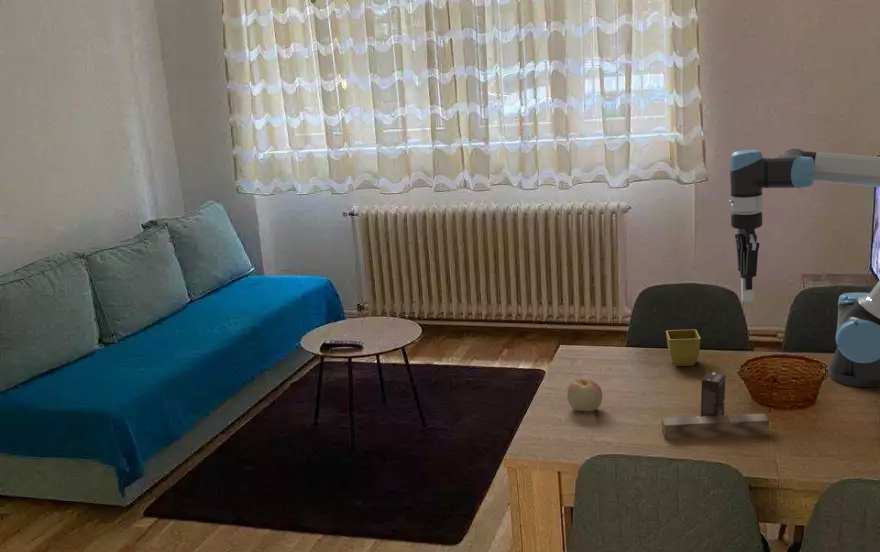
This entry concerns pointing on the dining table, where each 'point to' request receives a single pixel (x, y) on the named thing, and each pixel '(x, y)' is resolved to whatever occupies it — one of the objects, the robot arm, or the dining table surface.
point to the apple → (584, 395)
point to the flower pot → (683, 346)
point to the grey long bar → (715, 426)
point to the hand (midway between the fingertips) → (747, 300)
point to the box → (713, 394)
